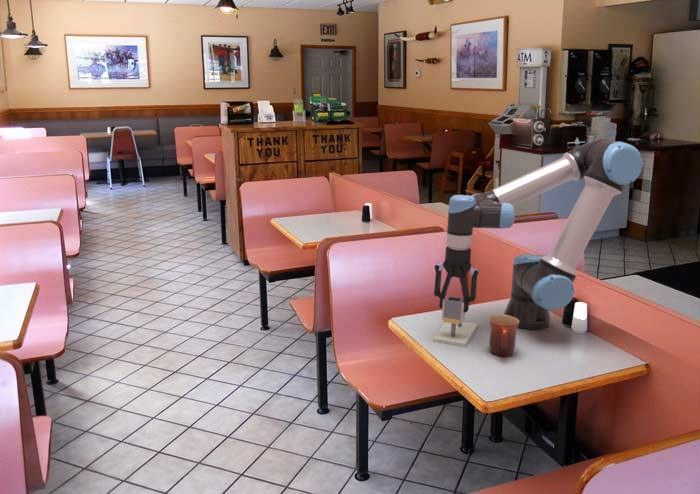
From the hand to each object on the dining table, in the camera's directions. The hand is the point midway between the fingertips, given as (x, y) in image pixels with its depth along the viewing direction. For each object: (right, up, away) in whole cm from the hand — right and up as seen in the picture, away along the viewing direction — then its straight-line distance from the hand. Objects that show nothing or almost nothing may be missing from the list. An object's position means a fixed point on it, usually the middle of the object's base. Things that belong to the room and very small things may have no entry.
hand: (452, 319), depth 196 cm
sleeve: (0, 0, 0) cm, 0 cm away
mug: (+13, -9, -9) cm, 18 cm away
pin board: (+2, -5, +6) cm, 8 cm away
